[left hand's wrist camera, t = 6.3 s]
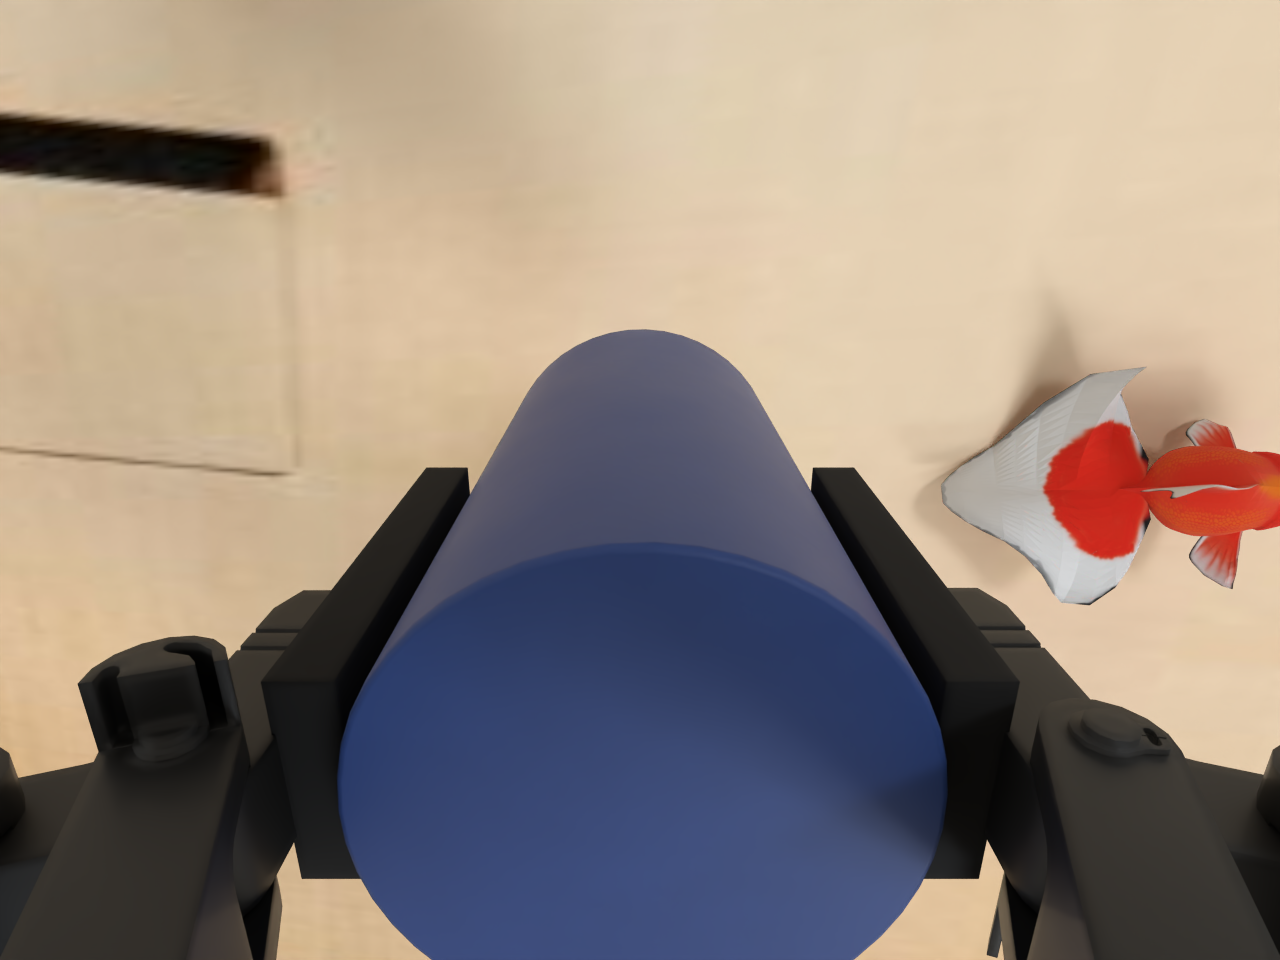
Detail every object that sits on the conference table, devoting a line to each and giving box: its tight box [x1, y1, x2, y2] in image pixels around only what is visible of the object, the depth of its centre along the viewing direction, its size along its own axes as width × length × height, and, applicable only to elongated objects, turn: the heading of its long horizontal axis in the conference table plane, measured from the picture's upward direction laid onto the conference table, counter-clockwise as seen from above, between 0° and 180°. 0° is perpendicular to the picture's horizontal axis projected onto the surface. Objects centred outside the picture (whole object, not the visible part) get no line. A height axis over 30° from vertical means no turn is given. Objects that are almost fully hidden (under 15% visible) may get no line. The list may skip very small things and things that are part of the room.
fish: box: [941, 367, 1280, 605], centre depth 35 cm, size 11×16×10 cm
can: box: [337, 329, 948, 960], centre depth 13 cm, size 6×6×12 cm
